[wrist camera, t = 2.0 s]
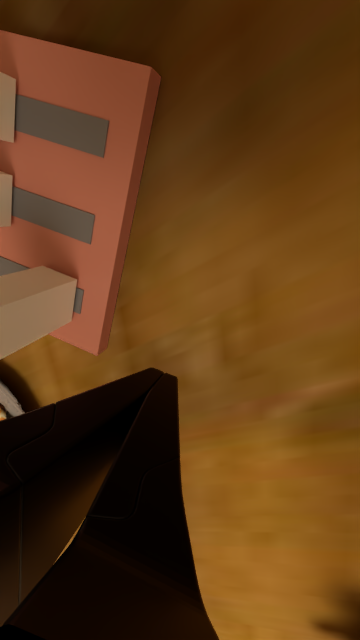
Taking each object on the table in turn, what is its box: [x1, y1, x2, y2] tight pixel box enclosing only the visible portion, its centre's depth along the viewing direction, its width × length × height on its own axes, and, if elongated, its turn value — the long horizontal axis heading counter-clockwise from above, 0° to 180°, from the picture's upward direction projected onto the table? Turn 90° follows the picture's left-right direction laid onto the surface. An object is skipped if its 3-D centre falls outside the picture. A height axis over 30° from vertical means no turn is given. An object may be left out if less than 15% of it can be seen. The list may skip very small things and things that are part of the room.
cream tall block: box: [0, 266, 77, 360], centre depth 19 cm, size 3×4×9 cm
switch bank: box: [0, 30, 161, 356], centre depth 22 cm, size 14×19×2 cm
